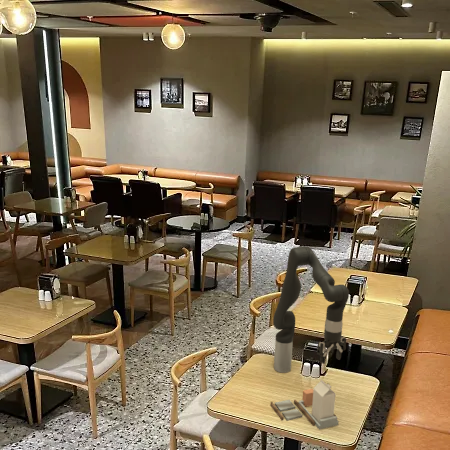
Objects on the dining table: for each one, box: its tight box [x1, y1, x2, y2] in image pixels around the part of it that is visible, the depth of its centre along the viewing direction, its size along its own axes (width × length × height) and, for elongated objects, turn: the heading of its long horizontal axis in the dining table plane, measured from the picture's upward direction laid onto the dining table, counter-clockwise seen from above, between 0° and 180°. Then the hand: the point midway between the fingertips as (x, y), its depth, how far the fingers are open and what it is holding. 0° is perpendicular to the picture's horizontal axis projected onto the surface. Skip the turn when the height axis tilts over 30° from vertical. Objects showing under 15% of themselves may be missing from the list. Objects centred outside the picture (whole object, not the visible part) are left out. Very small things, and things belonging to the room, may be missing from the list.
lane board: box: [269, 399, 337, 427], centre depth 225 cm, size 20×24×2 cm
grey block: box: [297, 388, 340, 430], centre depth 223 cm, size 20×10×7 cm, turn 20°
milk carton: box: [311, 378, 337, 423], centre depth 218 cm, size 7×7×19 cm
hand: (330, 360), depth 216 cm, fingers open, 8 cm apart
